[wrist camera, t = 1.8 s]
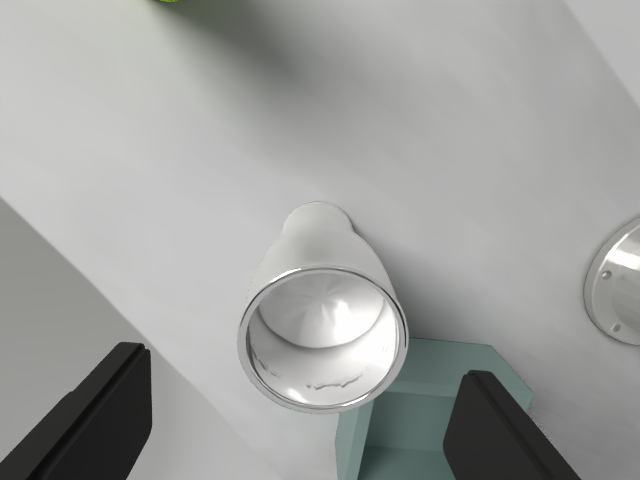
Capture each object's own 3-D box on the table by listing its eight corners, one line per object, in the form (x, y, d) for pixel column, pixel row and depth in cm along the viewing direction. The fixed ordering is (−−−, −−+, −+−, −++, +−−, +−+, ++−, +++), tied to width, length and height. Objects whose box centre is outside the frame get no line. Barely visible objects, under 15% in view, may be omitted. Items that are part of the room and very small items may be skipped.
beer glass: (276, 193, 25) (229, 253, 11) (363, 198, 26) (428, 264, 11) (274, 274, 27) (231, 416, 13) (354, 278, 27) (401, 422, 13)
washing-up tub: (491, 345, 30) (534, 393, 24) (457, 451, 33) (487, 515, 28) (354, 331, 29) (365, 377, 23) (334, 442, 33) (339, 505, 27)
